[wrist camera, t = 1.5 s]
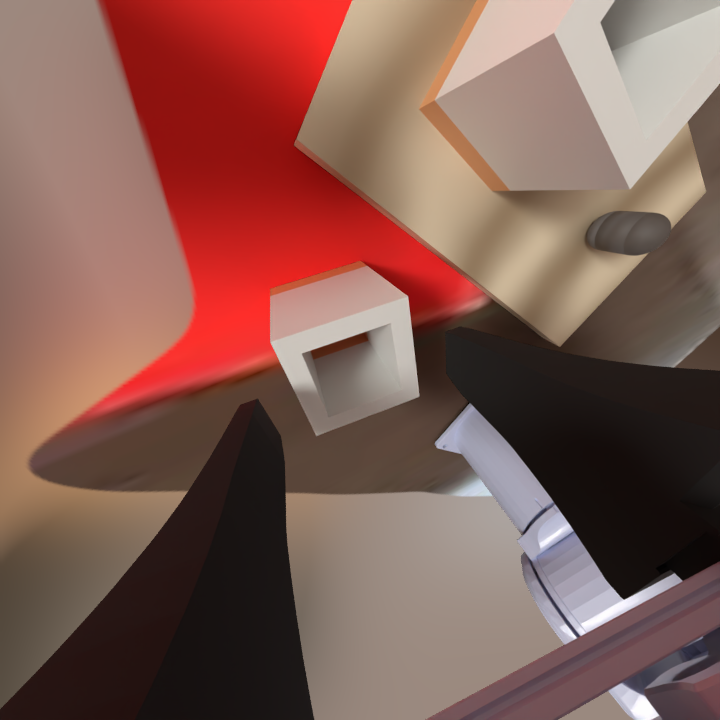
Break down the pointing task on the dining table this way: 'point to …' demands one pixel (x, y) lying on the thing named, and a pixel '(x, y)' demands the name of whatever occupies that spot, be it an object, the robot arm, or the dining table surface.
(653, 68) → the seated sleeve
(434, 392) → the dining table surface
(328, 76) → the pin board
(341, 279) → the loose sleeve
